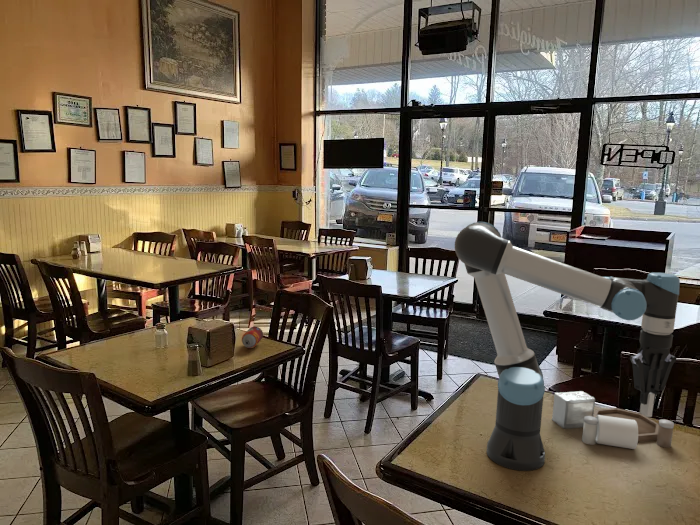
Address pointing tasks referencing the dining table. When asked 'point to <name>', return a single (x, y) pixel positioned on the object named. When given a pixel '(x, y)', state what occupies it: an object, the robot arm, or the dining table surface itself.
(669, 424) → the pepper shaker
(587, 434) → the salt shaker
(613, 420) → the white cylinder
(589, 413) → the white box
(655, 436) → the tray
